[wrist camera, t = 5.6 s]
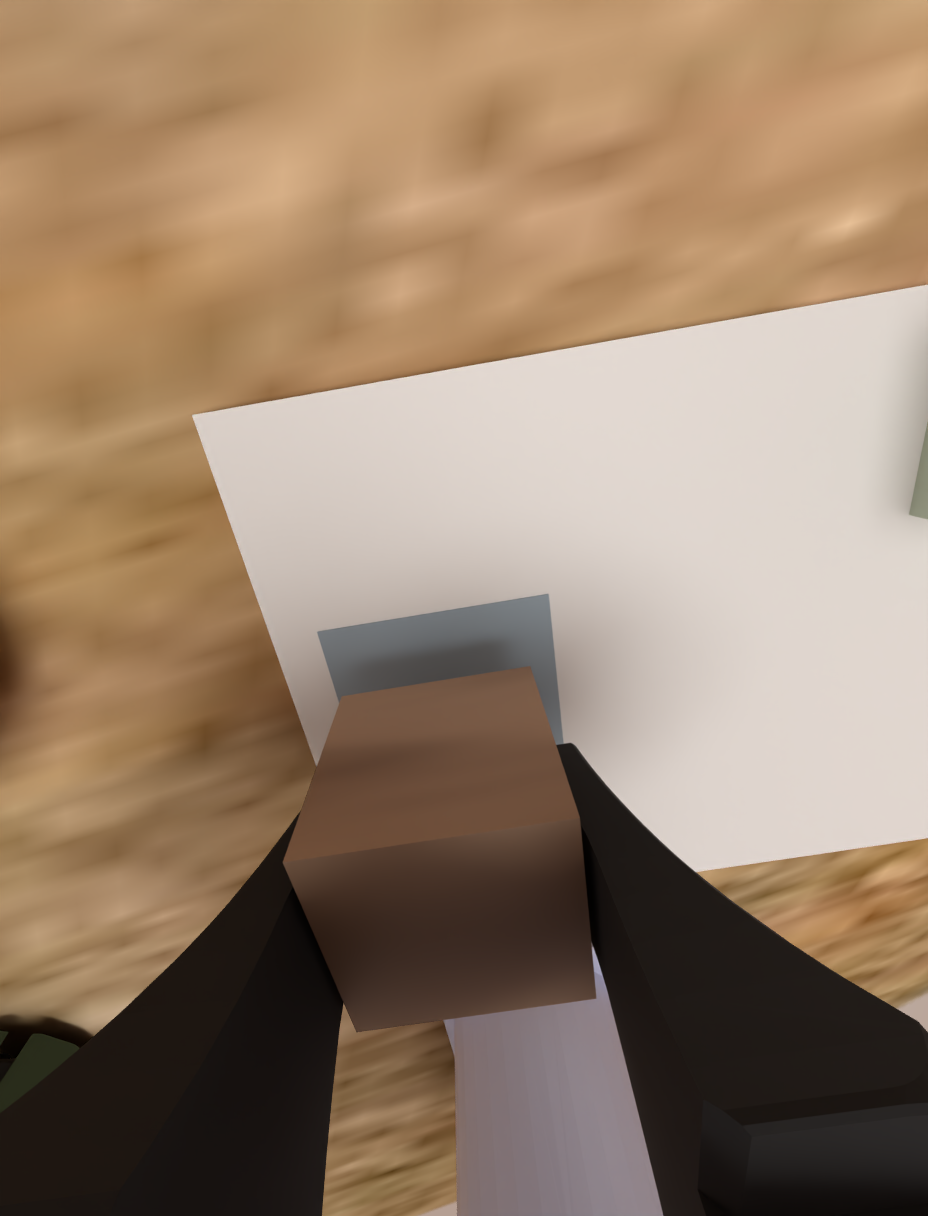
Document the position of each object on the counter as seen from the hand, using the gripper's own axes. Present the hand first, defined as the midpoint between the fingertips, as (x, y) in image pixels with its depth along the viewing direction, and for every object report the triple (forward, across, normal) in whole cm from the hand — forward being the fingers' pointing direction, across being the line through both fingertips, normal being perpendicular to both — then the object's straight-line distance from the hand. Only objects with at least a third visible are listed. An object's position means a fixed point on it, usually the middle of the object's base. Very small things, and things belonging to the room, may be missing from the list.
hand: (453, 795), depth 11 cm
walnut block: (+1, 0, 0) cm, 1 cm away
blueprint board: (+4, -8, 0) cm, 9 cm away
